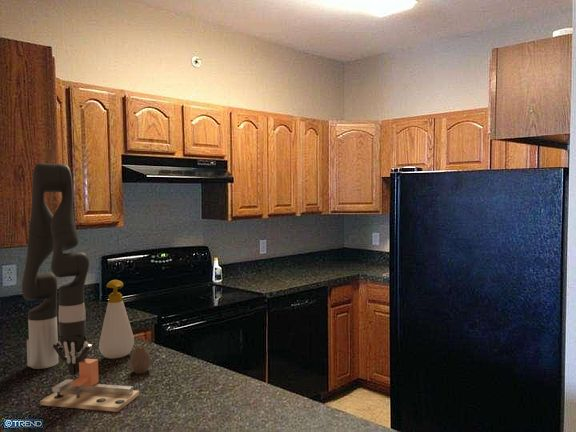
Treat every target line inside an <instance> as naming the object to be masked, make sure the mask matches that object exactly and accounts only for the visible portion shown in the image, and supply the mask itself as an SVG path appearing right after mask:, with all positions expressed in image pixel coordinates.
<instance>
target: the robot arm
mask: <svg viewBox="0 0 576 432" xmlns="http://www.w3.org/2000/svg"><path fill="white" fill-rule="evenodd" d="M31 178H32V182H31V183H32V185H31V210H30V217H29V218H30V219H29V226H28V234H27V235H28V236H27V248H26V259H25V260H26V261H25V265H24V266H25V267H24V270H23V271H24V272H23V275H22V276H23V277H22V282H21V293H22V297H23V298H24V300H27V301H35V300H37V301H38V300H42V299H43V301H42V302H41V303H40V304H39V305H37V306H35V307H33V308H31V309H30V310H28V312H27V319H28V322H27V323H28V339H27V340H26V359H27V360H26V361H27V367H29V368H31V369H33V370H34V369H35V370H40V369H47V368H52V367H55V366H56V365H58V364H59V358H60V359H61V361H62V362H64V361H65V362H67V365H68V367H67V369H68V374H69V375H70V376H77V375H78V374H79V362H81V361H83V360H85V359H87V357H88V356H89V354H90V352H91V351H92V350H93V348H95V347H94V344H93V343H89V342H88V341H87V340H88V338H87V336H86V332H87V321H86V319H87V317H86V315H87V314H86V313H87V312H86V306H85V286H86V285H85V283H86V279H87V276H88V273H89V269H90V259H89V256H88V255H87V254H86V253H85V252H80V251H79V252H67V253H64V252H65V251H69V250H72V249H74V248H76V247H77V246H78V244H79V237H78V232H77V227H76V223H75V222H76V221H75V214H74V191H73V190H74V189H73V188H74V187H73V178H72V172H71V169H70V167H69V165H67V164H61V163H48V162H47V163H43V162H41V163H40V162H39V163H35V165H34V167H33V171H32V177H31ZM45 193H61V201H60V203H59V205H58V207H57V209H56V210H55V212H54V214H53V212H52V211H51V210H50V208H49V207H48V205H47V202H46V200H45ZM51 254H52V258H51V263H50V270H51V271H46V272H40V273H39V269H40V268H41V266H42V264H43V263H44V262H45V261H46V260H47V258H48V257H50V255H51ZM66 277H74V278H73V280H72V281H70V282H68V283H65V284H63V285H60V286H59V288H58V279H57V278H66ZM58 334H59V336H60V337H59V338H58ZM58 339H59V340H58Z"/></svg>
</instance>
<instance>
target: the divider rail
mask: <svg viewBox="0 0 576 432" xmlns="http://www.w3.org/2000/svg"><path fill="white" fill-rule="evenodd" d="M72 381H74V379H69V378H67V379H64V380H63V381H61V382H59V383H57V384H55V385H54V386H53V387H51V389H52V390H51V391H52V392H53V393H54V392H57V397H60V391H62V390H64V391H76V386H72ZM79 387H80V392H89V393H102V394H114V395H126V396H130V395H131V394H133V390H134V386H131V385H118V384H116V385H115V384H103V383H96V384H95V385H93V386H79Z"/></svg>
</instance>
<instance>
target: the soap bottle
mask: <svg viewBox="0 0 576 432" xmlns="http://www.w3.org/2000/svg"><path fill="white" fill-rule="evenodd" d="M123 287H124V283H123V281H121V280H118V279H112V280H110V281H109V282H107V284H106V288H110V289H112V290H113V291H112V292H111V293H110V294H108V302H107V306H106V311H105V314H104V319H103V324H102V328H101V333H100V337H99V338H100V339H99V342H98V350H99V351H100V354H101V355H102V356H103V357H104V358H106V359H111V360H112V359H120V358H124V357H126V356H127V355H129V354H130V353H131V351H132V350H133V348H134V345H135V337H134V334H133V330H132V327H131V326H132V325H131V324H130V320H129V317H128V313H127V310H126V307H125V303H124V301H123V294H122V293H121V292H118V290H119V289H122V288H123Z"/></svg>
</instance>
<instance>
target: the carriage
mask: <svg viewBox="0 0 576 432" xmlns="http://www.w3.org/2000/svg"><path fill="white" fill-rule="evenodd" d="M78 374H79V376H78V377H77V378H76V379H73V381H72V386H76V397H77V398H79V397H80V387H79V386H93V385H95V384H99V383H100V382H99V379H100V378H99V359H97V358H85V359H84V360H82V361H80V362H79V372H78Z"/></svg>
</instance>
